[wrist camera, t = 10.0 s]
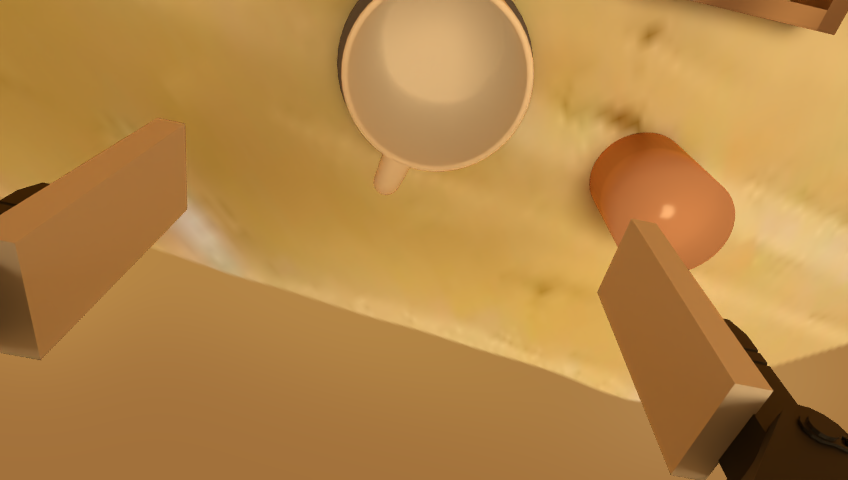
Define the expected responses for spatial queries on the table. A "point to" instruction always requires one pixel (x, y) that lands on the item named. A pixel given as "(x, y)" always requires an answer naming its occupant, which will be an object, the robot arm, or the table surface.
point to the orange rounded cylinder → (662, 195)
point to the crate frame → (791, 11)
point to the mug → (436, 82)
